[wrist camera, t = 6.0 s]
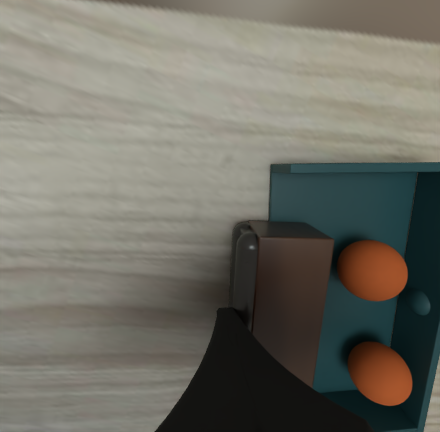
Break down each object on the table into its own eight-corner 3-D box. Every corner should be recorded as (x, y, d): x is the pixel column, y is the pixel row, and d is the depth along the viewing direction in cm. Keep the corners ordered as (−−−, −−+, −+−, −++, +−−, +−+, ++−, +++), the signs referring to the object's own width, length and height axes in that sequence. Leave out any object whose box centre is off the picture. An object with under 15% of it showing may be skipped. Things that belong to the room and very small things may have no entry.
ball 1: (327, 278, 14) (346, 313, 11) (331, 231, 13) (353, 254, 10) (382, 280, 13) (416, 317, 11) (390, 231, 13) (430, 256, 10)
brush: (226, 432, 11) (307, 431, 12) (239, 235, 9) (335, 239, 10) (223, 378, 14) (287, 378, 15) (232, 219, 12) (306, 222, 13)
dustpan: (262, 398, 15) (276, 448, 12) (270, 164, 12) (290, 163, 9) (476, 379, 16) (532, 422, 14) (532, 162, 13) (618, 160, 11)
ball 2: (363, 392, 11) (430, 382, 11) (337, 335, 14) (390, 326, 14) (364, 419, 13) (424, 412, 12) (340, 363, 15) (389, 355, 15)
